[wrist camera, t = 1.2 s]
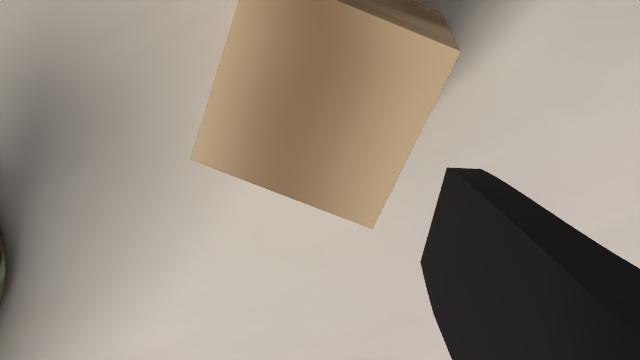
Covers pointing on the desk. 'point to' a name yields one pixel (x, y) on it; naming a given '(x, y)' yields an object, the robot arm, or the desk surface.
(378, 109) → the oak cube
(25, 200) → the desk surface
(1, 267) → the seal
